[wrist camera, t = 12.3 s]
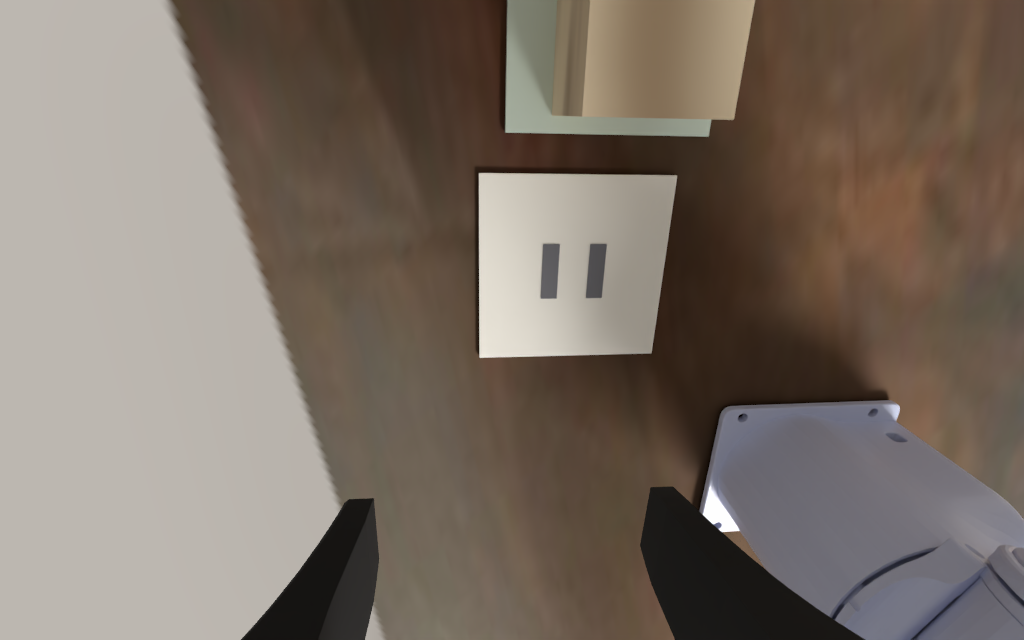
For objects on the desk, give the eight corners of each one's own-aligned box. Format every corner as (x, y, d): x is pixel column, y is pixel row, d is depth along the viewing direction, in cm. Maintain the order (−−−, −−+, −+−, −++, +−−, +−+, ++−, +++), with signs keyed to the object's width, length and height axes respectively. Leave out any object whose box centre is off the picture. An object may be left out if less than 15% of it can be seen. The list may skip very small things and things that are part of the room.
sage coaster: (734, -46, 17) (739, -49, 17) (705, 136, 20) (708, 136, 19) (507, -59, 17) (508, -62, 16) (504, 132, 19) (505, 132, 19)
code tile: (675, 175, 20) (677, 175, 20) (650, 351, 23) (651, 353, 23) (478, 172, 19) (478, 173, 19) (479, 355, 22) (479, 358, 22)
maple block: (685, -21, 17) (767, -70, 13) (667, 118, 19) (733, 120, 14) (558, -28, 17) (595, -80, 12) (551, 115, 19) (582, 116, 14)
